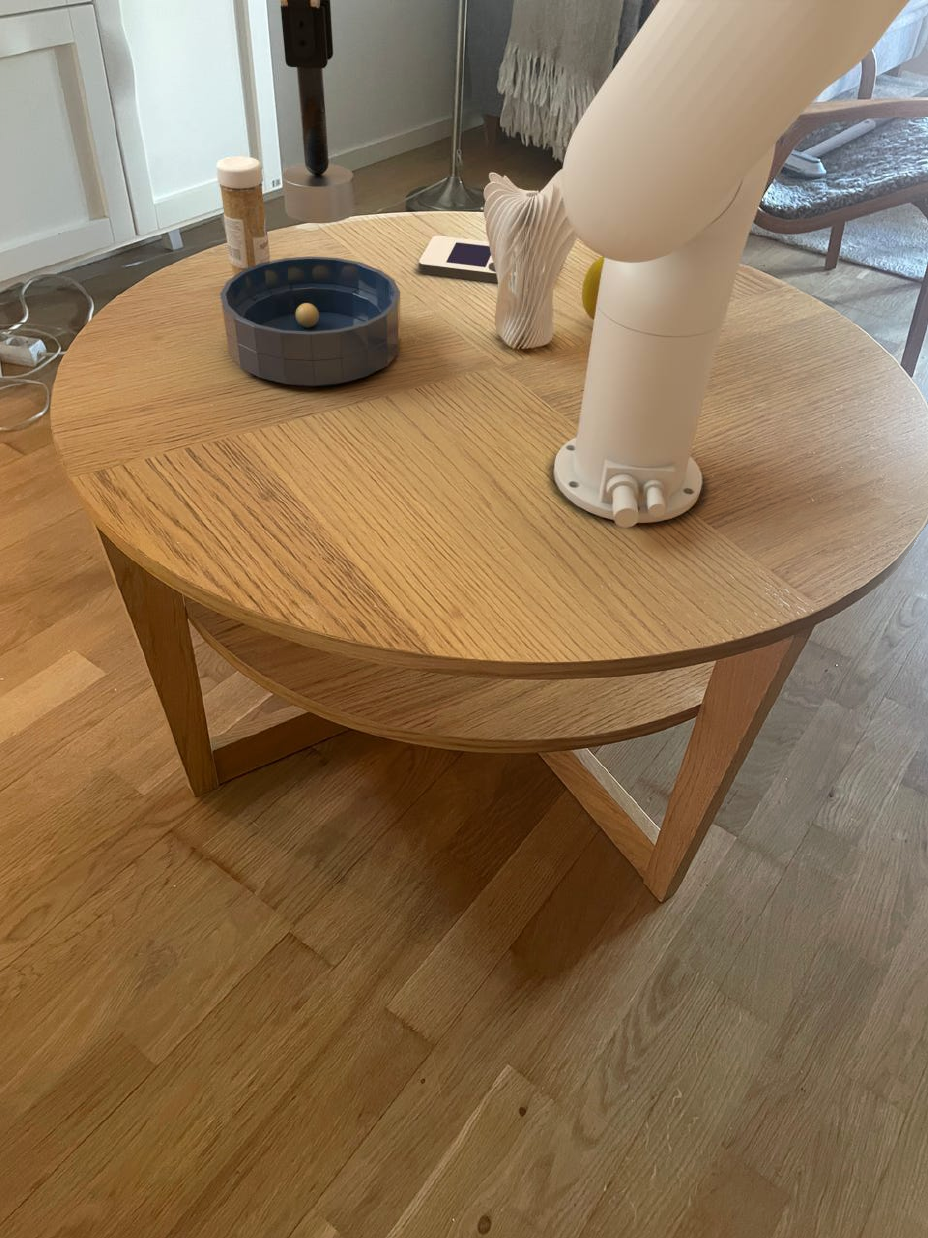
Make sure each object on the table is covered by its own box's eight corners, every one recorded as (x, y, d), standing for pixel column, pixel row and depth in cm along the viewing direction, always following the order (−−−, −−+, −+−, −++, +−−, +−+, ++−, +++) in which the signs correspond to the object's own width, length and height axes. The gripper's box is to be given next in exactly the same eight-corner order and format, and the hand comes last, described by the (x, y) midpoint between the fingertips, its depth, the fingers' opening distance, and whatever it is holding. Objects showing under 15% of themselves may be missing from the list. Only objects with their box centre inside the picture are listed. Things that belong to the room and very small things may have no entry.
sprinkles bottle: (279, 294, 103) (266, 166, 93) (239, 300, 101) (222, 171, 92) (266, 278, 105) (253, 152, 96) (227, 284, 104) (210, 156, 95)
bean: (324, 325, 96) (311, 330, 94) (305, 324, 97) (292, 329, 95) (321, 301, 95) (308, 306, 93) (302, 300, 96) (289, 305, 94)
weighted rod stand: (349, 225, 78) (336, -15, 67) (279, 221, 78) (254, -19, 67) (359, 200, 83) (348, -29, 71) (292, 197, 83) (270, -33, 71)
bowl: (391, 397, 88) (390, 339, 83) (211, 387, 88) (201, 328, 83) (406, 316, 100) (406, 261, 96) (248, 306, 100) (241, 251, 96)
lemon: (626, 340, 98) (639, 266, 92) (574, 333, 99) (584, 259, 93) (630, 318, 102) (642, 245, 96) (580, 311, 103) (590, 239, 97)
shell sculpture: (469, 330, 98) (479, 148, 86) (540, 320, 101) (558, 142, 88) (499, 366, 93) (514, 179, 80) (573, 355, 95) (598, 171, 83)
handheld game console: (434, 244, 114) (434, 233, 114) (553, 258, 113) (554, 247, 112) (417, 272, 108) (417, 261, 107) (543, 289, 106) (544, 277, 105)
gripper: (255, -261, 66) (282, 37, 79) (197, -264, 54) (239, 86, 67) (359, -257, 66) (370, 41, 78) (323, -259, 54) (342, 91, 67)
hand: (310, 60), depth 73 cm, fingers closed on weighted rod stand
